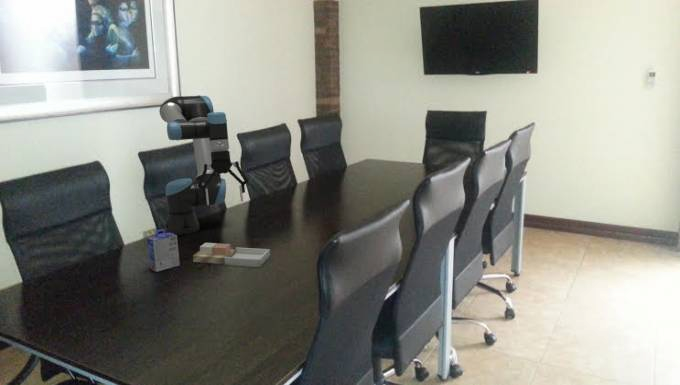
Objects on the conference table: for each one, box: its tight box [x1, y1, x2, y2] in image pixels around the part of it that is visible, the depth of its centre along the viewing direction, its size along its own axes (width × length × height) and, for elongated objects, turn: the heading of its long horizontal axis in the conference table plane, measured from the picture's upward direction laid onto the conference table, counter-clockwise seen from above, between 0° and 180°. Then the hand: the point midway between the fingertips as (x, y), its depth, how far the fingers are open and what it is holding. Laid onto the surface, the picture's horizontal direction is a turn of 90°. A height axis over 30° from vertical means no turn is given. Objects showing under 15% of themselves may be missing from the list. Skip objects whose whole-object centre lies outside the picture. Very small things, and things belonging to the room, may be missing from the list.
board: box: [192, 248, 236, 265], centre depth 218 cm, size 13×10×2 cm
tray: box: [224, 246, 271, 268], centre depth 215 cm, size 14×12×3 cm
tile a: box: [199, 242, 218, 255], centre depth 218 cm, size 5×5×3 cm
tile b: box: [213, 243, 232, 256], centre depth 217 cm, size 5×5×3 cm
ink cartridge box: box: [146, 228, 180, 273], centre depth 208 cm, size 10×6×14 cm, turn 134°
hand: (225, 203), depth 227 cm, fingers open, 13 cm apart
